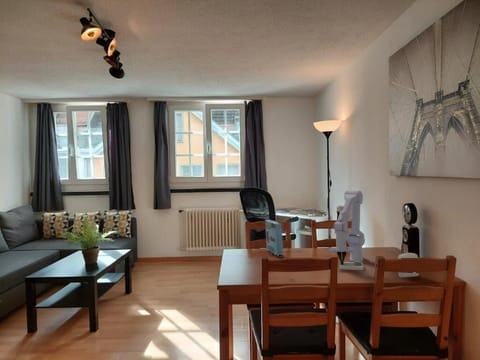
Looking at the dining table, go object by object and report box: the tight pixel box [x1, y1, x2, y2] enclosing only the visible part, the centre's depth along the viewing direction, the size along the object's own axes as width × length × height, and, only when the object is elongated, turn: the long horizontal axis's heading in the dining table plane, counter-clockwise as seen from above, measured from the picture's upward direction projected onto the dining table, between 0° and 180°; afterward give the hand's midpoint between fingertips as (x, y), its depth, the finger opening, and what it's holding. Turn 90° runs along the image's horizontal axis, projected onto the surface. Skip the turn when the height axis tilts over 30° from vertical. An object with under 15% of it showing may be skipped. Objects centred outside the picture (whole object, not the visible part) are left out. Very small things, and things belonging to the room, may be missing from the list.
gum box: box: [264, 219, 284, 256], centre depth 239 cm, size 20×5×23 cm, turn 17°
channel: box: [339, 261, 365, 271], centre depth 198 cm, size 8×13×2 cm, turn 73°
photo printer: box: [397, 252, 420, 278], centre depth 178 cm, size 10×4×12 cm, turn 96°
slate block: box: [353, 260, 362, 266], centre depth 197 cm, size 4×4×4 cm
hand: (342, 264), depth 200 cm, fingers closed
